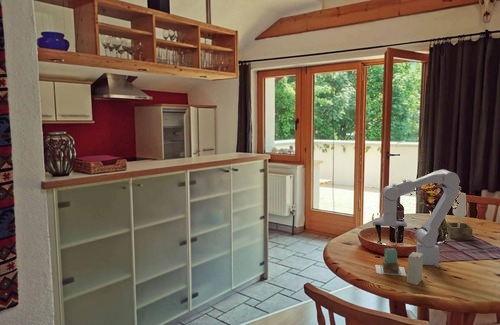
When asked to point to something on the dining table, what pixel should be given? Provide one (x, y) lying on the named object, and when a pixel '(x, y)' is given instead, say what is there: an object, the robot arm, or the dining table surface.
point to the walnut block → (390, 267)
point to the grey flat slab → (380, 270)
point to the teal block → (390, 255)
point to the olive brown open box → (459, 230)
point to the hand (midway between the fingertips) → (388, 241)
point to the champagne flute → (460, 208)
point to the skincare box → (415, 268)
